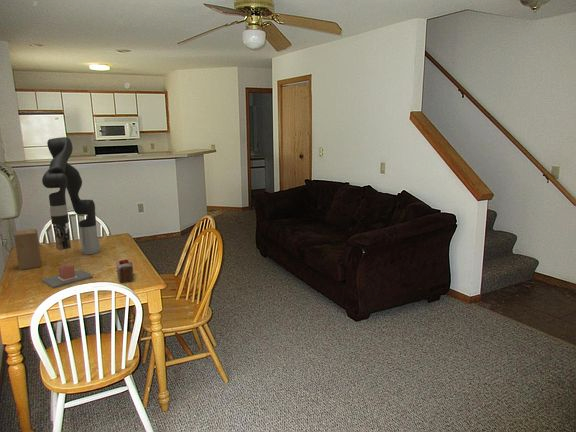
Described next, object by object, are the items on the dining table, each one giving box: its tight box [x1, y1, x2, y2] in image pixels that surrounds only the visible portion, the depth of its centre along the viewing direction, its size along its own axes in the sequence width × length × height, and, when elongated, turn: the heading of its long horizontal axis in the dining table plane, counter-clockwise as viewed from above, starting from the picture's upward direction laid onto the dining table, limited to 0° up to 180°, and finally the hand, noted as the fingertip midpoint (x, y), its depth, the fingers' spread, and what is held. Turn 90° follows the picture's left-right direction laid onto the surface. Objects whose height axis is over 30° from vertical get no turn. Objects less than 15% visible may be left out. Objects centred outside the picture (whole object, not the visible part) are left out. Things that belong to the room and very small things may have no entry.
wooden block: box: [13, 228, 42, 271], centre depth 229 cm, size 10×10×20 cm
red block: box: [58, 263, 76, 280], centre depth 209 cm, size 6×6×6 cm
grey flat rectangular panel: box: [41, 269, 94, 289], centre depth 210 cm, size 19×15×1 cm
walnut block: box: [54, 236, 71, 251], centre depth 206 cm, size 5×5×6 cm
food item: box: [116, 259, 134, 284], centre depth 211 cm, size 14×8×10 cm, turn 29°
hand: (63, 246), depth 207 cm, fingers closed on walnut block, 5 cm apart
